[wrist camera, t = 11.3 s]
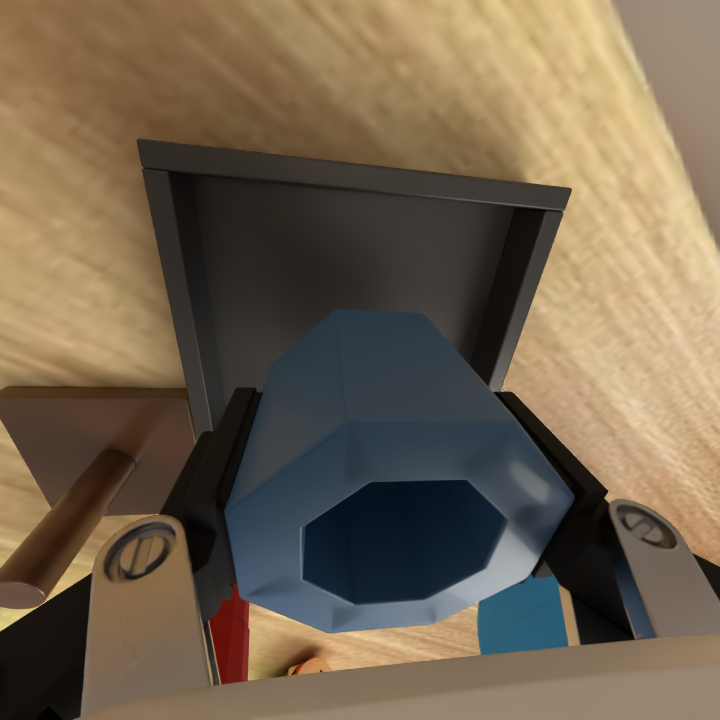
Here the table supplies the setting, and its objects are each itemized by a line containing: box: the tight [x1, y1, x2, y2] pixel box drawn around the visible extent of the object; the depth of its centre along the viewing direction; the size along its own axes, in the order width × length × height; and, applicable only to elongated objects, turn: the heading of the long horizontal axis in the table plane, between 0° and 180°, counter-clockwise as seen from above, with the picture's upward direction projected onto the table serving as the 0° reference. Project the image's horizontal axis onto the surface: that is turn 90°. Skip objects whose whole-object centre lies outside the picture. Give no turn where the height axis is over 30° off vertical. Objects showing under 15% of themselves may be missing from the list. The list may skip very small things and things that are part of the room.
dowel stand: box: [0, 387, 198, 609], centre depth 15 cm, size 9×9×8 cm
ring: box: [224, 309, 575, 633], centre depth 9 cm, size 7×7×6 cm
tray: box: [137, 138, 572, 439], centre depth 15 cm, size 15×15×3 cm
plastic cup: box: [209, 584, 249, 685], centre depth 20 cm, size 11×11×12 cm
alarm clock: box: [477, 574, 569, 655], centre depth 22 cm, size 13×6×15 cm, turn 136°
